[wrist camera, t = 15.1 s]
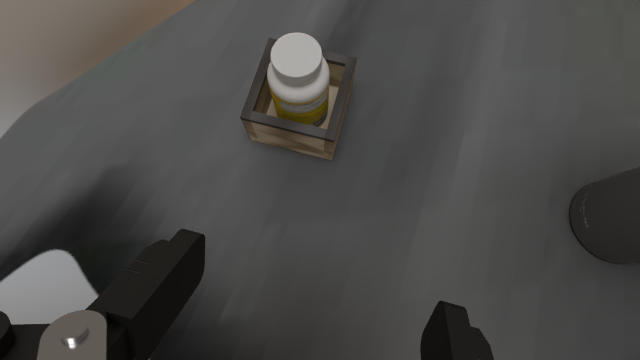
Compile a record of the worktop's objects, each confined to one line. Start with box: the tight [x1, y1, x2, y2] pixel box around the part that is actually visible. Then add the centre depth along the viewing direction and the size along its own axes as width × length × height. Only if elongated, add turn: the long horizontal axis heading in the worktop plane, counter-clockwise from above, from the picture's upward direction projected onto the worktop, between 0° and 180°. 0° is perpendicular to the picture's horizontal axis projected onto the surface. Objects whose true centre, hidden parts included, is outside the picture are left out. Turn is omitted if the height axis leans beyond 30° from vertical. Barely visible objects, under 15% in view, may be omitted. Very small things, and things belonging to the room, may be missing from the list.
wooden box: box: [240, 38, 357, 160], centre depth 40 cm, size 10×10×6 cm
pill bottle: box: [267, 33, 330, 127], centre depth 36 cm, size 6×6×11 cm
